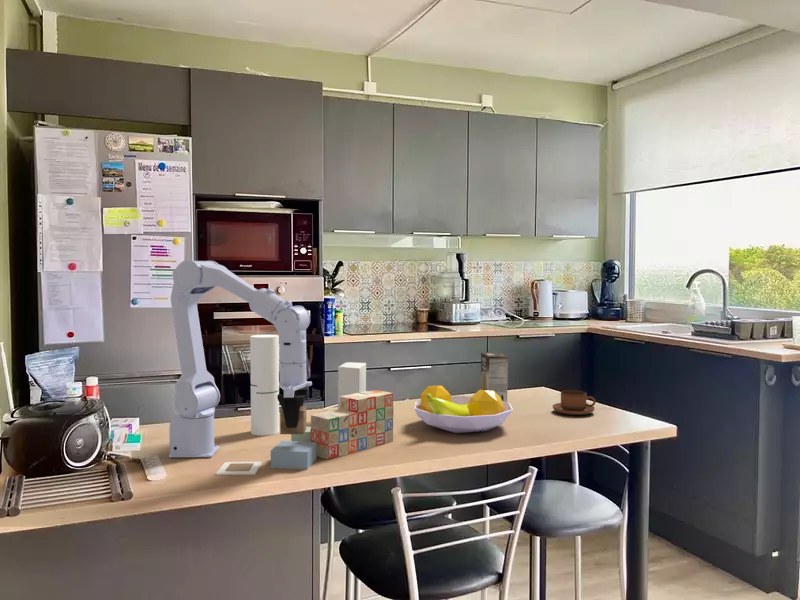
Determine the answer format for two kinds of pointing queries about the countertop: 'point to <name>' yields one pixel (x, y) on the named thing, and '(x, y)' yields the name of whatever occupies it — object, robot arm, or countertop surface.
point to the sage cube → (302, 436)
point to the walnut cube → (300, 426)
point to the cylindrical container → (264, 384)
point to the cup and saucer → (574, 403)
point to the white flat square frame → (239, 468)
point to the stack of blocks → (354, 424)
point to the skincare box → (351, 379)
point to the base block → (293, 455)
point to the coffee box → (494, 373)
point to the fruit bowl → (462, 410)
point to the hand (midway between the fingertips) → (293, 424)
